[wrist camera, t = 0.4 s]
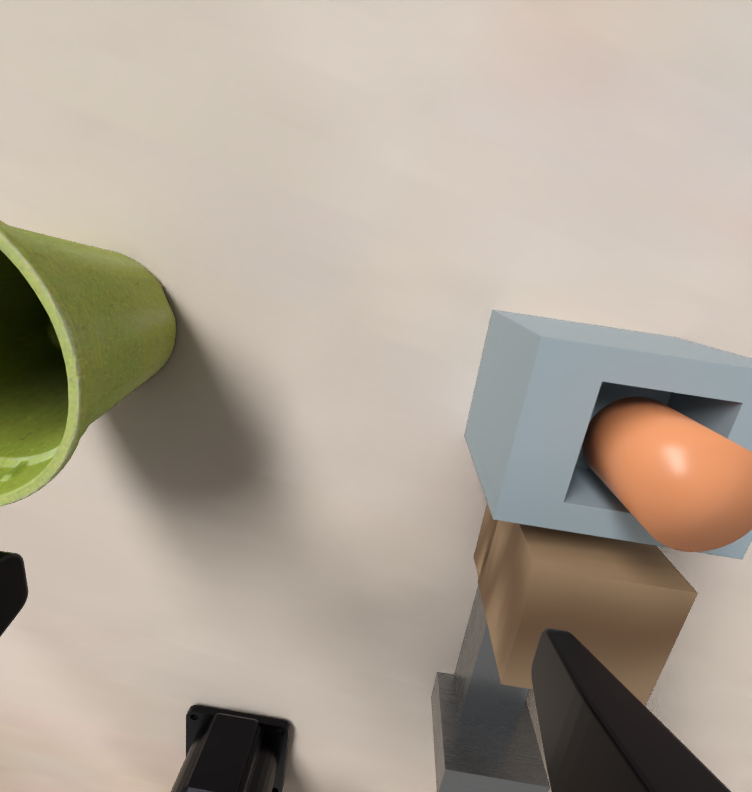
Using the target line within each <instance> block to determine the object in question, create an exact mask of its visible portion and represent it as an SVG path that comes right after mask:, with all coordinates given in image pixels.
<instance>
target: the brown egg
mask: <svg viewBox="0 0 752 792" xmlns="http://www.w3.org/2000/svg"><path fill="white" fill-rule="evenodd" d="M582 451H583V456H584V458H585V461H586V462H587V464H588V466H589V467H590V468H591V469H592V470H593V472H594V473H595V474H596V475H597V476H598V477H599V478H600V479H601V480H602V482H603V483H604V484H605V485H606V486H607V487H608V488H609V489H610V490H611V492H612V493H613V494H614V495H615V496H616V497H617V498H618V499H619V500H620V502H621V503H622V504H623V505H624V506H625V507H626V508H627V509H628V510H629V512H630V513H631V514H632V515H633V516H634V517H635V518H636V519H637V520H638V522H639V523H640V524H641V525H642V526H643V527H644V528H645V529H646V530H647V531H648V533H649V534H650V535H651V536H652V537H653V538H654V539H655V540H657V541H658V542H660V543H661V544H663V545H665V546H667V547H670V548H672V549H675V550H680V551H687V552H702V551H709V550H714V549H718V548H721V547H724V546H726V545H729V544H731V543H733V542H735V541H737V540H738V539H740V538H742V537H743V536H744V535H746V534H747V533H748V532H749V531H751V530H752V452H751V451H749V450H747V449H745V448H744V447H742V446H740V445H738V444H736V443H734V442H733V441H731V440H729V439H727V438H725V437H723V436H722V435H720V434H718V433H716V432H714V431H712V430H711V429H709V428H707V427H705V426H703V425H701V424H700V423H698V422H696V421H694V420H692V419H690V418H689V417H687V416H685V415H683V414H681V413H680V412H678V411H676V410H674V409H672V408H670V407H669V406H667V405H665V404H663V403H661V402H659V401H657V400H655V399H652V398H648V397H627V398H623V399H619V400H617V401H614V402H612V403H610V404H608V405H607V406H605V407H604V408H602V409H601V410H600V411H599V412H597V413H596V414H595V416H594V417H593V418H592V419H591V421H590V422H589V424H588V428H587V431H586V434H585V437H584V440H583V443H582Z"/></svg>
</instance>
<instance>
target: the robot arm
mask: <svg viewBox="0 0 752 792" xmlns="http://www.w3.org/2000/svg"><path fill="white" fill-rule="evenodd" d="M27 597H28V586H27V579H26V573H25V567H24V561H23V558H22V557H21V556H20V555H19V554H17V553H11V552H3V551H0V636H1V635H2V634H3V633H4V631H5V630H6V629H7V627H8V626H9V625H10V623H11V622H12V621H13V620H14V618H15V617H16V616H17V614H18V613H19V612H20V610H21V609H22V608H23V606H24V604H25V602H26V600H27ZM531 678H532V685H533V690H534V696H535V702H536V708H537V713H538V719H539V725H540V730H541V736H542V742H543V747H544V753H545V759H546V765H547V770H548V775H549V781H550V786H551V791H552V792H731V791H730V790H729V789H728V788H727V787H726V786H725V785H724V784H723V783H722V782H721V781H720V780H719V779H718V778H717V777H716V776H715V775H714V774H713V773H712V772H711V771H710V770H709V769H708V768H707V767H706V766H705V765H704V764H703V763H702V762H701V761H700V760H699V759H698V758H697V757H696V756H695V755H694V754H693V753H692V752H691V751H690V750H689V749H688V748H687V747H686V746H685V745H684V744H683V743H682V742H681V741H680V740H679V739H678V738H677V737H676V736H675V735H674V734H673V733H672V732H671V731H670V730H669V729H668V728H667V727H666V726H665V725H664V724H663V723H662V722H661V721H660V720H659V719H658V718H656V717H655V716H654V715H653V714H652V713H651V712H650V711H649V710H648V709H647V708H646V707H645V706H644V705H643V704H642V703H641V702H640V701H639V700H638V699H637V698H636V697H635V696H634V695H633V694H632V693H631V692H630V691H629V690H628V689H627V688H626V687H625V686H624V685H623V684H622V683H621V682H620V681H619V680H618V679H617V678H616V677H615V676H614V675H613V674H612V673H611V672H610V671H609V670H608V669H607V668H606V667H605V666H604V665H603V664H602V663H601V662H600V661H599V660H598V659H597V658H596V657H595V656H594V655H593V654H592V653H591V652H590V651H589V650H588V649H587V648H586V647H585V646H584V645H583V644H582V643H581V642H580V641H579V640H578V639H577V638H576V637H575V636H574V635H573V634H572V633H570V632H568V631H566V630H559V629H552V628H546V629H544V630H543V631H542V633H541V635H540V638H539V642H538V645H537V648H536V652H535V655H534V659H533V662H532V668H531ZM289 732H290V724H289V723H288V722H287V721H284V720H280V719H274V718H268V717H263V716H257V715H251V714H245V713H239V712H234V711H228V710H222V709H216V708H210V707H204V706H199V705H193V706H191V707H190V708H189V711H188V713H187V715H186V759H185V761H184V763H183V765H182V768H181V770H180V772H179V774H178V777H177V779H176V781H175V783H174V786H173V788H172V790H171V792H282V789H283V785H284V777H285V768H286V759H287V750H288V741H289Z"/></svg>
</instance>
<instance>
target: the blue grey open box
mask: <svg viewBox="0 0 752 792" xmlns="http://www.w3.org/2000/svg"><path fill="white" fill-rule="evenodd" d="M627 397H648V398H652V399H655V400H657V401H659V402H661V403H663V404H665V405H667V406H669V407H670V408H672V409H674V410H676V411H678V412H680V413H681V414H683V415H685V416H687V417H689V418H690V419H692V420H694V421H696V422H698V423H700V424H701V425H703V426H705V427H707V428H709V429H711V430H712V431H714V432H716V433H718V434H720V435H722V436H723V437H725V438H727V439H729V440H731V441H733V442H734V443H736V444H738V445H740V446H742V447H744V448H745V449H747V450H749V451H751V452H752V358H748V357H745V356H741V355H737V354H734V353H730V352H726V351H723V350H719V349H716V348H712V347H708V346H705V345H701V344H697V343H694V342H690V341H687V340H683V339H679V338H676V337H669V336H662V335H656V334H649V333H642V332H636V331H629V330H623V329H616V328H609V327H603V326H596V325H590V324H583V323H576V322H570V321H563V320H556V319H550V318H543V317H537V316H530V315H523V314H517V313H510V312H504V311H497V310H492V314H491V319H490V323H489V328H488V332H487V337H486V341H485V346H484V350H483V354H482V359H481V363H480V368H479V372H478V377H477V381H476V386H475V390H474V395H473V399H472V404H471V408H470V412H469V417H468V421H467V426H466V430H465V435H464V436H465V439H466V442H467V444H468V447H469V450H470V453H471V456H472V459H473V462H474V465H475V468H476V471H477V474H478V477H479V479H480V482H481V485H482V488H483V491H484V494H485V497H486V500H487V503H488V506H489V509H490V512H491V514H492V517H493V519H494V520H500V521H506V522H512V523H518V524H525V525H531V526H537V527H543V528H549V529H556V530H562V531H568V532H574V533H581V534H587V535H593V536H599V537H605V538H612V539H618V540H624V541H630V542H636V543H643V544H649V545H655V546H661V547H667V546H665V545H663V544H661V543H660V542H658V541H657V540H655V539H654V538H653V537H652V536H651V535H650V534H649V533H648V531H647V530H646V529H645V528H644V527H643V526H642V525H641V524H640V523H639V522H638V520H637V519H636V518H635V517H634V516H633V515H632V514H631V513H630V512H629V510H628V509H627V508H626V507H625V506H624V505H623V504H622V503H621V502H620V500H619V499H618V498H617V497H616V496H615V495H614V494H613V493H612V492H611V490H610V489H609V488H608V487H607V486H606V485H605V484H604V483H603V482H602V480H601V479H600V478H599V477H598V476H597V475H596V474H595V473H594V472H593V470H592V469H591V468H590V467H589V466H588V464H587V462H586V461H585V458H584V456H583V451H582V443H583V440H584V437H585V434H586V431H587V428H588V424H589V422H590V421H591V419H592V418H593V417H594V416H595V414H596V413H597V412H599V411H600V410H601V409H602V408H604V407H605V406H607V405H608V404H610V403H612V402H614V401H617V400H619V399H623V398H627ZM751 541H752V530H751V531H749V532H748V533H747V534H746V535H744V536H743V537H742V538H740V539H738V540H737V541H735V542H733V543H731V544H729V545H726V546H724V547H721V548H718V549H714V550H709V551H702V552H699V553H705V554H711V555H717V556H723V557H730V558H736V559H743V557H744V555H745V553H746V551H747V549H748V547H749V545H750V543H751ZM668 548H670V547H668Z"/></svg>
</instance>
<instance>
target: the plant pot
mask: <svg viewBox="0 0 752 792" xmlns="http://www.w3.org/2000/svg"><path fill="white" fill-rule="evenodd" d="M175 338H176V321H175V316H174V314H173V312H172V310H171V308H170V306H169V304H168V301H167V299H166V296H165V294H164V292H163V289H162V287H161V284H160V283H159V282H158V280H157V279H156V278H155V277H154V276H153V275H152V273H150V272H149V271H148V270H147V269H146V268H145V267H143V266H142V265H141V264H139V263H138V262H136V261H135V260H133V259H131V258H129V257H127V256H125V255H123V254H120V253H117V252H113V251H109V250H105V249H101V248H97V247H92V246H88V245H84V244H80V243H76V242H72V241H67V240H63V239H59V238H55V237H51V236H47V235H43V234H39V233H35V232H31V231H28V230H24V229H20V228H16V227H12V226H9V225H7V224H5V223H3V222H2V221H0V506H4V505H7V504H11V503H14V502H17V501H19V500H22V499H24V498H26V497H28V496H30V495H31V494H33V493H35V492H37V491H38V490H40V489H41V488H42V487H44V486H45V485H46V484H47V483H48V482H50V481H51V480H52V479H53V478H54V477H55V476H56V475H57V474H58V473H59V472H60V471H61V470H62V469H63V468H64V466H65V465H66V464H67V462H68V461H69V460H70V458H71V456H72V455H73V453H74V451H75V449H76V447H77V445H78V442H79V440H80V438H81V436H82V435H83V434H84V432H85V431H86V429H87V428H88V426H89V425H90V424H91V423H92V422H94V421H95V420H96V419H98V418H99V417H100V416H101V415H103V414H104V413H105V412H107V411H108V410H109V409H110V408H112V407H113V406H114V405H116V404H117V403H118V402H119V401H121V400H122V399H123V398H124V397H126V396H127V395H128V394H129V393H131V392H132V391H133V390H135V389H136V388H137V387H139V386H140V385H141V384H143V383H144V382H145V381H147V380H148V379H149V378H150V377H152V376H153V375H154V374H155V373H156V372H158V371H159V370H160V369H161V368H162V367H163V366H164V364H165V363H166V362H167V360H168V359H169V357H170V355H171V353H172V351H173V347H174V343H175Z"/></svg>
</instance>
